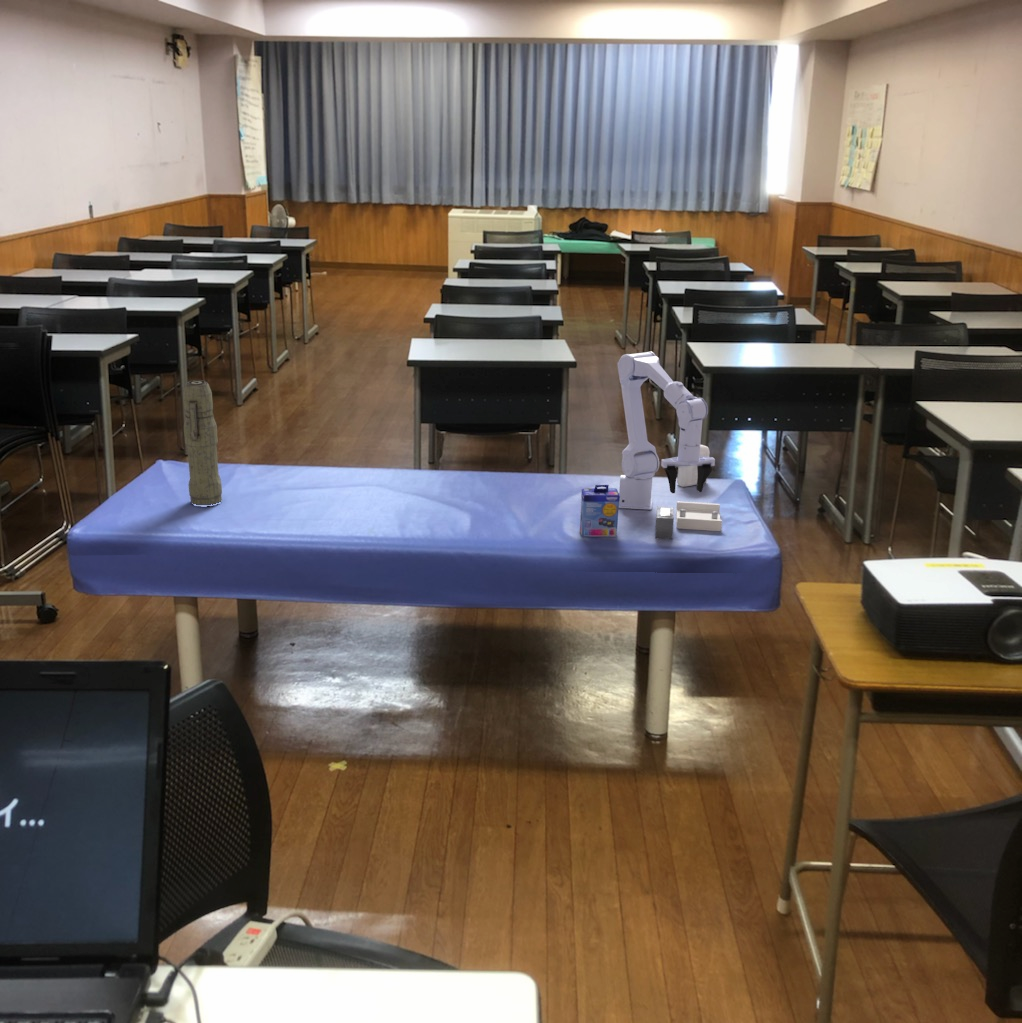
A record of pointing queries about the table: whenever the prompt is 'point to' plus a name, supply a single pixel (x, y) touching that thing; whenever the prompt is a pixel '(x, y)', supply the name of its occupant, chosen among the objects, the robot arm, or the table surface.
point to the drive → (664, 522)
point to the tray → (698, 516)
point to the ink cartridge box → (599, 512)
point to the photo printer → (691, 470)
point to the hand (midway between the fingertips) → (685, 491)
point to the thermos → (201, 444)
